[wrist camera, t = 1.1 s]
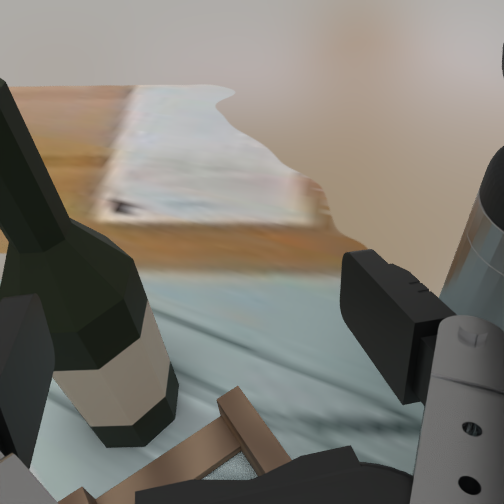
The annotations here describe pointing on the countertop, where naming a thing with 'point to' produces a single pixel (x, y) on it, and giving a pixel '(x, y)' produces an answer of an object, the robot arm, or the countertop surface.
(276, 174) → the countertop surface
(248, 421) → the cradle
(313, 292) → the countertop surface
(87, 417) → the wine bottle
